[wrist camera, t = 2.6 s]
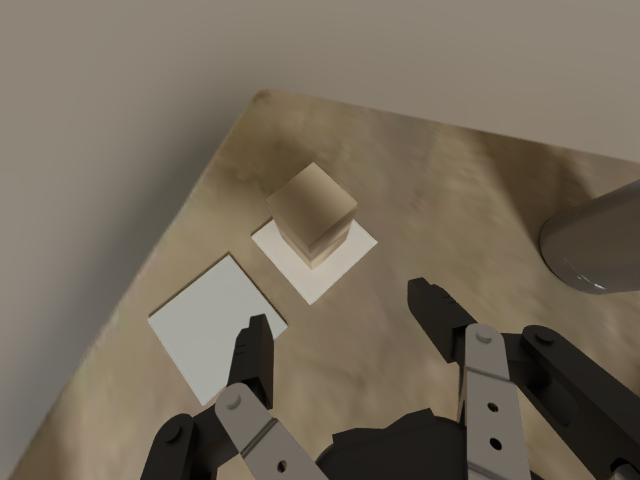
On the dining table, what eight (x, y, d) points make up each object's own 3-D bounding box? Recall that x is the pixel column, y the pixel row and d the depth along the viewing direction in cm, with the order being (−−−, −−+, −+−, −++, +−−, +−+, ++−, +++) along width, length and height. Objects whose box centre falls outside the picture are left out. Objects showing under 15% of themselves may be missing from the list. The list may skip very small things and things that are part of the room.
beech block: (315, 210, 28) (313, 161, 19) (345, 240, 26) (358, 203, 18) (282, 238, 27) (264, 199, 18) (312, 271, 25) (308, 246, 17)
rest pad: (230, 255, 26) (228, 254, 26) (288, 326, 24) (287, 326, 24) (149, 319, 24) (146, 319, 24) (204, 404, 22) (202, 406, 22)
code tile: (317, 186, 29) (317, 183, 29) (376, 243, 27) (377, 242, 26) (251, 238, 27) (250, 236, 27) (310, 305, 25) (310, 305, 24)
